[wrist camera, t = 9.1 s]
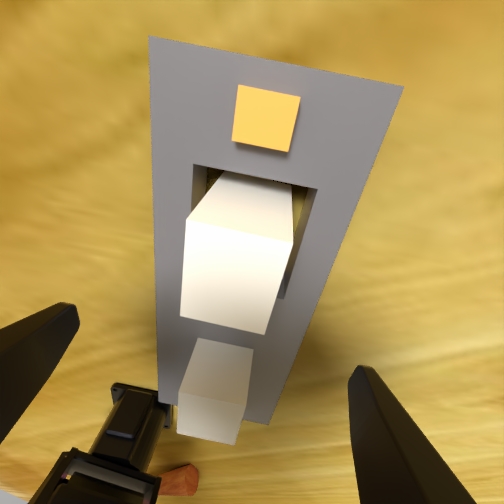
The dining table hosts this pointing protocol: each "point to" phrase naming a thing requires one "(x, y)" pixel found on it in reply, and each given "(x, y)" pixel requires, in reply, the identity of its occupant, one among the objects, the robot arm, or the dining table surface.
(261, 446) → the dining table surface
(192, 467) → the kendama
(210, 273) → the plug
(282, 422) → the dining table surface
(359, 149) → the power strip
